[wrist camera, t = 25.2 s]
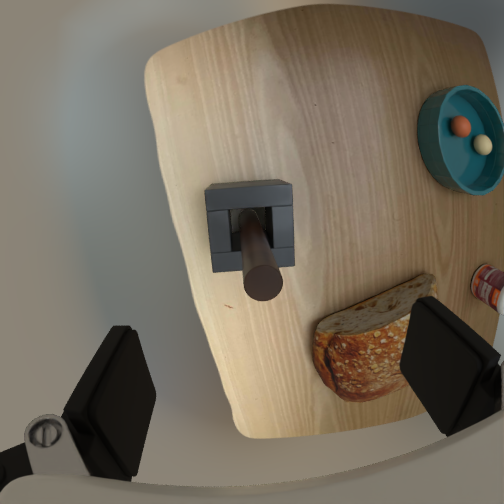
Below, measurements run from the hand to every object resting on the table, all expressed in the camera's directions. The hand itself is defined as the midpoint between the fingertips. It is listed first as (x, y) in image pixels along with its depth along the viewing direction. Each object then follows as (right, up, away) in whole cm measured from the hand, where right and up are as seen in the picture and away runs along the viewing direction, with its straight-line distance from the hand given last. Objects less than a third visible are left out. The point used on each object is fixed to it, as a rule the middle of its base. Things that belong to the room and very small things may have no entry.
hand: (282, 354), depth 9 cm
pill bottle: (+39, -2, +32) cm, 50 cm away
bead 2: (+33, +19, +23) cm, 44 cm away
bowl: (+29, +20, +25) cm, 43 cm away
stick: (-1, +7, +27) cm, 28 cm away
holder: (-2, +8, +26) cm, 28 cm away
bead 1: (+28, +21, +22) cm, 41 cm away
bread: (+18, -10, +33) cm, 39 cm away
